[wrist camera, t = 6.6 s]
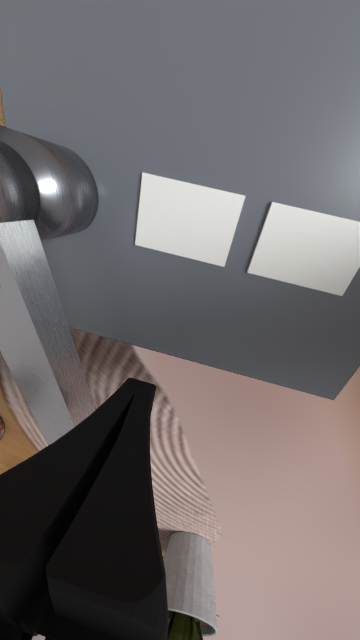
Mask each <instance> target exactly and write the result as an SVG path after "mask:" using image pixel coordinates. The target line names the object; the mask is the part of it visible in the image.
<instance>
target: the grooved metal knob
mask: <svg viewBox="0 0 360 640" xmlns="http://www.w3.org/2000/svg"><path fill="white" fill-rule="evenodd" d="M0 141H2V142H4V143H6V144H7V145H9V146H10V147H12V148H13V149H14V150H16V151H17V152H18V153H19V154H20V155H21V157H22V158H23V159H24V160H25V162H26V163H27V164H28V166H29V167H30V169H31V171H32V173H33V175H34V177H35V179H36V182H37V185H38V189H39V193H40V212H39V216H38V219H37V221H36V222H35V225H36V228H37V231H38V234H39V237H40V240H46V239H50V238H55V237H60V236H64V235H69V234H74V233H78V232H81V231H83V230H85V229H86V228H88V227H89V226H90V225H91V223H92V222H93V220H94V219H95V217H96V214H97V210H98V203H99V197H98V189H97V185H96V182H95V179H94V176H93V174H92V172H91V170H90V169H89V167H88V166H87V164H86V163H85V162H84V160H83V159H82V158H81V157H80V156H79V155H77V154H76V153H75V152H73V151H72V150H70V149H68V148H66V147H64V146H61V145H58V144H55V143H52V142H49V141H46V140H43V139H40V138H37V137H34V136H31V135H28V134H25V133H22V132H19V131H16V130H13V129H10V128H7V127H4V126H0Z"/></svg>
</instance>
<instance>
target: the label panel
mask: <svg viewBox="0 0 360 640" xmlns="http://www.w3.org/2000/svg"><path fill="white" fill-rule="evenodd" d="M0 88H1V95H2V102H3V110H4V117H5V125H6V127H7V128H10V129H13V130H16V131H19V132H22V133H25V134H28V135H31V136H34V137H37V138H40V139H43V140H46V141H49V142H52V143H55V144H58V145H61V146H64V147H66V148H68V149H70V150H72V151H73V152H75V153H76V154H77V155H79V156H80V157H81V158H82V159H83V160H84V162H85V163H86V164H87V166H88V167H89V169H90V170H91V172H92V174H93V176H94V179H95V182H96V185H97V189H98V197H99V203H98V210H97V214H96V217H95V219H94V220H93V222H92V223H91V225H90V226H89V227H88V228H86V229H85V230H83V231H81V232H78V233H74V234H69V235H64V236H60V237H55V238H50V239H46V240H41V244H42V247H43V250H44V253H45V256H46V259H47V262H48V265H49V268H50V271H51V274H52V277H53V280H54V283H55V286H56V289H57V292H58V295H59V298H60V301H61V304H62V307H63V310H64V314H65V317H66V320H67V323H68V326H69V327H70V328H73V329H77V330H80V331H84V332H88V333H91V334H95V335H99V336H102V337H106V338H110V339H113V340H117V341H120V342H124V343H128V344H131V345H135V346H139V347H142V348H146V349H149V350H153V351H157V352H161V353H164V354H168V355H171V356H175V357H179V358H182V359H186V360H189V361H193V362H197V363H200V364H204V365H208V366H211V367H215V368H219V369H222V370H226V371H230V372H233V373H237V374H240V375H244V376H248V377H251V378H255V379H259V380H262V381H266V382H269V383H273V384H277V385H280V386H284V387H288V388H291V389H295V390H299V391H302V392H306V393H310V394H313V395H317V396H320V397H324V398H328V399H331V400H334V399H335V398H336V397H337V395H338V394H339V393H340V391H341V390H342V389H343V387H344V386H345V385H346V384H347V382H348V381H349V379H350V378H351V377H352V376H353V374H354V373H355V372H356V370H357V369H358V368H359V366H360V0H0Z"/></svg>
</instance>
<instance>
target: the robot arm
mask: <svg viewBox="0 0 360 640" xmlns="http://www.w3.org/2000/svg"><path fill="white" fill-rule="evenodd" d="M155 391H156V386H155V385H154V384H151V383H147V382H144V381H140V380H137V379H133V378H128V379H127V380H126V381H125V382H124V383H123V385H122V386H121V387H120V388H119V389H118V390H117V391H116V392H115V393H114V394H113V395H112V396H111V397H110V398H108V399H107V400H106V401H105V402H104V403H103V404H102V405H101V406H100V407H98V408H97V409H96V410H95V411H94V412H93V413H91V414H90V415H89V416H88V417H87V418H85V419H84V420H83V421H82V422H80V423H79V424H78V425H77V426H75V427H74V428H73V429H71V430H70V431H69V432H67V433H66V434H65V435H63V436H62V437H60V438H59V439H57V440H56V441H55V442H53V443H52V444H50V445H49V446H47V447H46V448H44V449H42V450H41V451H39V452H38V453H36V454H35V455H33V456H32V457H30V458H28V459H27V460H25V461H23V462H21V463H20V464H18V465H16V466H15V467H13V468H11V469H9V470H8V471H6V472H4V473H2V474H1V475H0V640H32V637H33V636H37V635H38V634H40V635H42V636H45V637H46V638H45V640H167V637H168V602H167V589H166V573H165V567H164V562H163V557H162V551H161V545H160V540H159V533H158V527H157V520H156V513H155V505H154V497H153V489H152V478H151V464H150V416H151V411H152V406H153V401H154V396H155Z"/></svg>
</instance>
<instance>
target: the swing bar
mask: <svg viewBox="0 0 360 640" xmlns="http://www.w3.org/2000/svg"><path fill="white" fill-rule="evenodd" d="M39 212H40V193H39V189H38V185H37V182H36V179H35V177H34V175H33V173H32V171H31V169H30V167H29V166H28V164H27V163H26V162H25V160H24V159H23V158H22V157H21V155H20V154H19V153H18V152H17V151H16V150H14V149H13V148H12V147H10V146H9V145H7V144H6V143H4V142H2V141H0V352H1V354H2V356H3V358H4V360H5V362H6V364H7V366H8V368H9V370H10V372H11V374H12V375H13V377H14V379H15V381H16V383H17V385H18V387H19V389H20V391H21V393H22V395H23V397H24V399H25V401H26V403H27V405H28V407H29V409H30V411H31V413H32V415H33V417H34V419H35V421H36V423H37V425H38V427H39V429H40V431H41V433H42V434H43V436H44V438H45V440H46V442H47V444H48V446H49V445H50V444H52V443H53V442H55V441H56V440H57V439H59V438H60V437H62V436H63V435H65V434H66V433H67V432H69V431H70V430H71V429H73V428H74V427H75V426H77V425H78V424H79V423H80V422H82V421H83V420H84V419H85V418H87V417H88V416H89V415H90V414H91V413H93V412H94V411H95V410H96V408H95V405H94V402H93V399H92V396H91V393H90V390H89V387H88V383H87V380H86V377H85V374H84V371H83V368H82V365H81V362H80V359H79V356H78V353H77V350H76V347H75V344H74V341H73V338H72V335H71V332H70V329H69V326H68V323H67V320H66V317H65V314H64V310H63V307H62V304H61V301H60V298H59V295H58V292H57V289H56V286H55V283H54V280H53V277H52V274H51V271H50V268H49V265H48V262H47V259H46V256H45V253H44V250H43V247H42V244H41V240H40V237H39V234H38V231H37V228H36V225H35V222H36V221H37V219H38V216H39Z"/></svg>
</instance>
